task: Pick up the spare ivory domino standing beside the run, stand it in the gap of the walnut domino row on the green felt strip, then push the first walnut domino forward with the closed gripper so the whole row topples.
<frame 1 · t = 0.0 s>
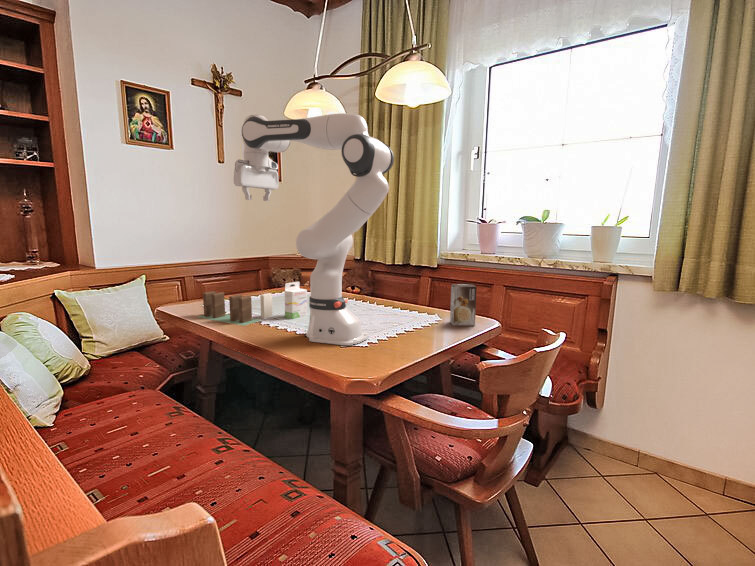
hand: (257, 200, 150), 48 cm above the table, fingers open, 8 cm apart
domino 2: (236, 319, 162), resting on felt mat
domino 4: (219, 316, 167), resting on felt mat
felt mat: (228, 319, 164), on the table
ink box: (296, 317, 170), on the table
coffee box: (462, 324, 163), on the table
ivory domino: (266, 317, 168), on the table
domino 5: (210, 315, 169), resting on felt mat
domino 1: (245, 321, 160), resting on felt mat
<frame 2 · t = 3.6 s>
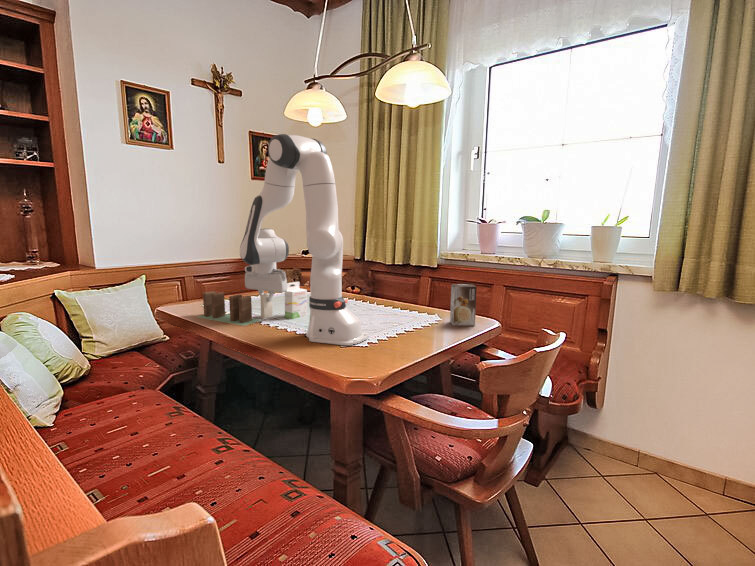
hand: (266, 301, 167), 7 cm above the table, fingers closed on ivory domino, 2 cm apart
ivory domino: (266, 317, 168), on the table, touching gripper
everything else where it was.
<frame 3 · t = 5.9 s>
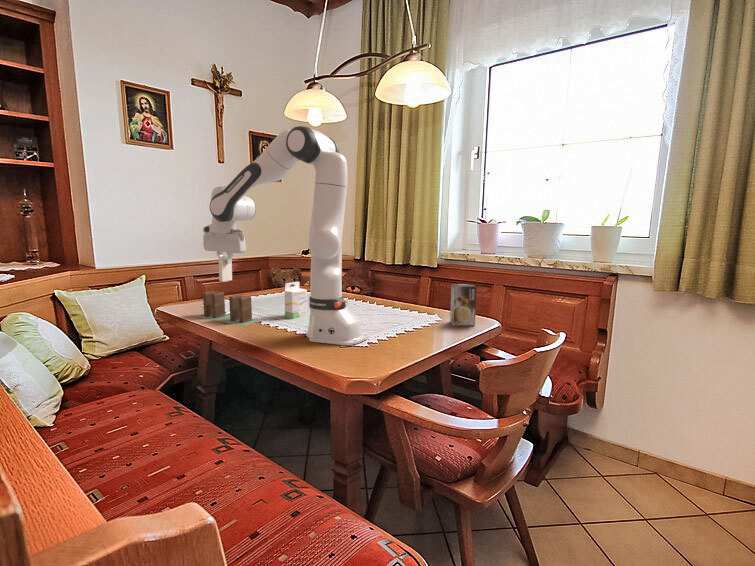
hand: (225, 263, 161), 23 cm above the table, fingers closed on ivory domino
ivory domino: (225, 280, 162), point 16 cm above the table, touching gripper
everything else where it was.
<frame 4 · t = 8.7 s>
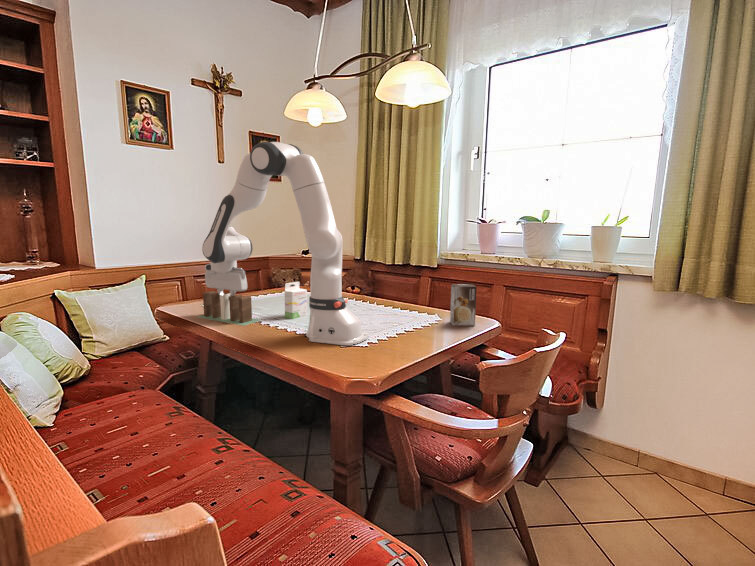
hand: (226, 300, 163), 8 cm above the table, fingers open, 3 cm apart
ivory domino: (227, 318, 164), resting on felt mat
everything else where it was.
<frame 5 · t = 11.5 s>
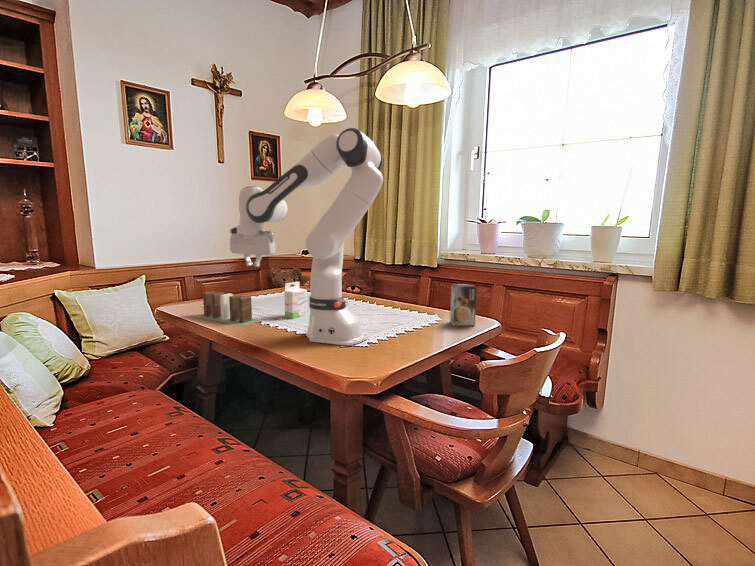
hand: (253, 266, 154), 23 cm above the table, fingers closed
nothing on the table moved.
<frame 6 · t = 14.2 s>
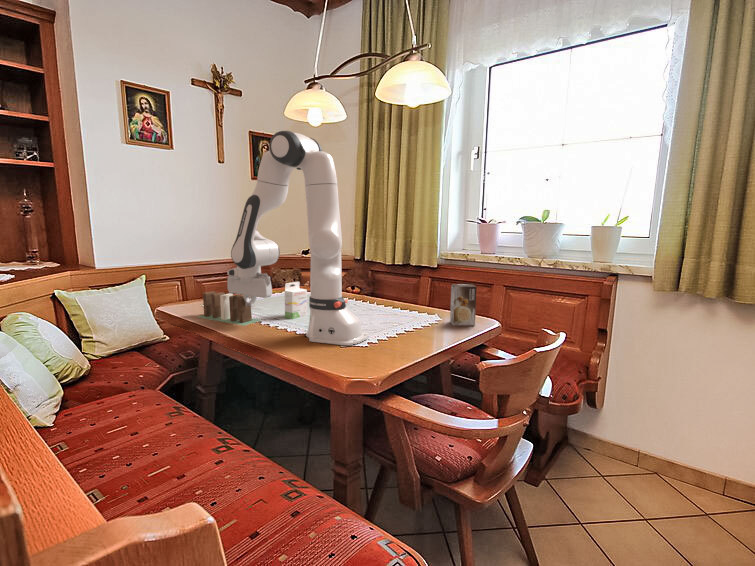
hand: (250, 306, 158), 7 cm above the table, fingers closed
domino 1: (245, 321, 160), resting on felt mat, touching gripper
everything else where it was.
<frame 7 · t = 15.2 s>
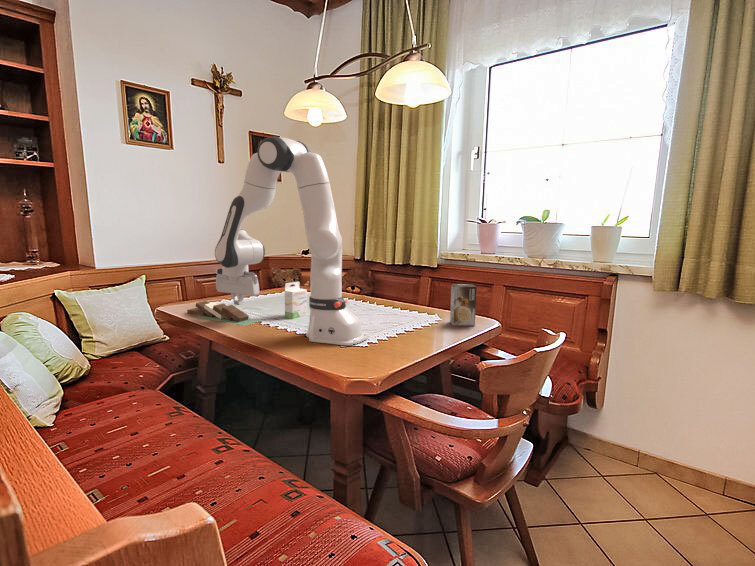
hand: (238, 304, 160), 7 cm above the table, fingers closed
domino 2: (234, 317, 163), point 1 cm above the table, tilted 69°, touching domino 1, ivory domino
domino 4: (216, 314, 167), point 1 cm above the table, tilted 69°, touching domino 5, ivory domino
ivory domino: (225, 316, 165), point 1 cm above the table, tilted 69°, touching domino 2, domino 4, felt mat
domino 5: (208, 312, 169), point 1 cm above the table, tilted 92°, touching domino 4, felt mat
domino 1: (243, 319, 160), point 1 cm above the table, tilted 69°, touching domino 2, felt mat
everything else where it was.
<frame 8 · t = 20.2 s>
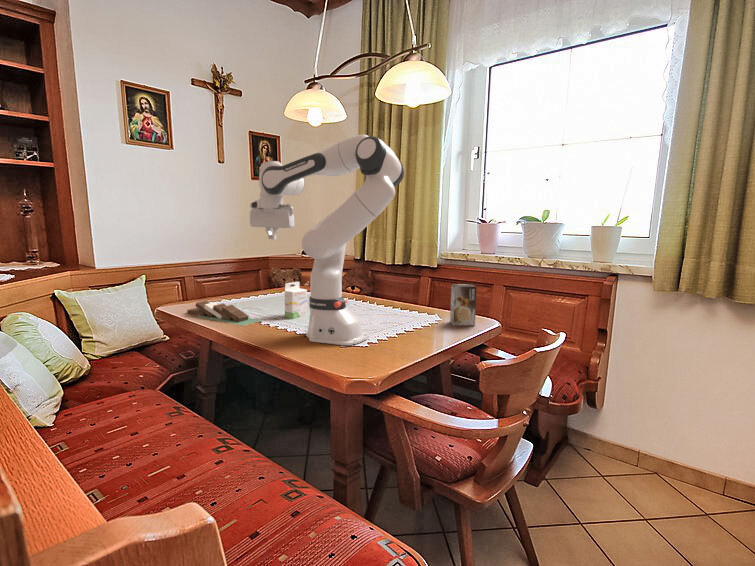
hand: (272, 239, 160), 33 cm above the table, fingers closed
domino 5: (208, 312, 169), point 1 cm above the table, tilted 92°, touching domino 4, felt mat
everything else where it was.
at the end: domino 5 tilted 92°; ivory domino tilted 69°; ivory domino inside the target area (3.0 cm from its centre), point 1.1 cm above the table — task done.
